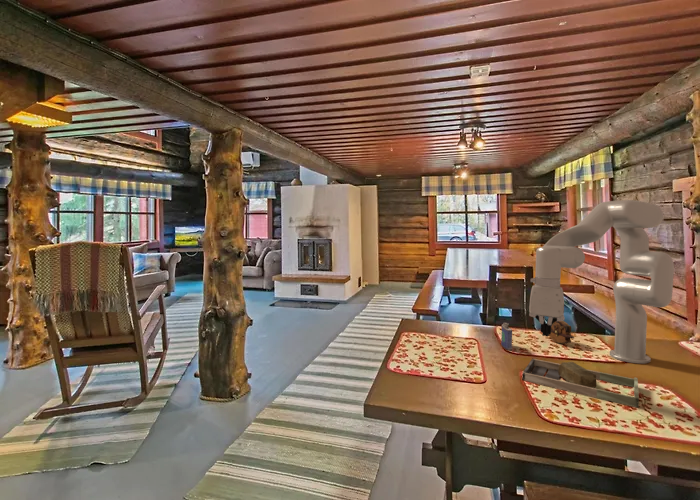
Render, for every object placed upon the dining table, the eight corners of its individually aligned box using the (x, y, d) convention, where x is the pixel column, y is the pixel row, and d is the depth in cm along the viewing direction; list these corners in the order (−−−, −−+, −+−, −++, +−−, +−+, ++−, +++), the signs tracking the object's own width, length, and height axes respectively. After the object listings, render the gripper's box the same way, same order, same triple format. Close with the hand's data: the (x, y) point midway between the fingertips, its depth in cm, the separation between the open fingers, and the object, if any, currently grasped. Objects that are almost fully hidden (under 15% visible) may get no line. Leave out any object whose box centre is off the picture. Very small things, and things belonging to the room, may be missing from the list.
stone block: (571, 374, 121) (572, 360, 121) (598, 390, 110) (599, 375, 110) (556, 374, 121) (557, 361, 120) (581, 391, 110) (582, 376, 109)
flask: (512, 350, 146) (513, 325, 145) (505, 350, 147) (505, 325, 146) (506, 343, 155) (506, 320, 155) (499, 343, 156) (499, 320, 155)
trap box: (532, 364, 131) (532, 357, 131) (637, 387, 112) (637, 378, 112) (522, 379, 118) (522, 371, 118) (638, 407, 99) (638, 397, 99)
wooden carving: (540, 337, 164) (540, 316, 163) (549, 336, 164) (549, 315, 164) (568, 349, 147) (568, 326, 147) (577, 348, 148) (578, 325, 148)
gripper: (521, 282, 121) (519, 333, 122) (571, 286, 111) (569, 342, 112) (526, 279, 127) (524, 329, 128) (574, 283, 117) (572, 336, 118)
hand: (545, 335), depth 120 cm, fingers closed
